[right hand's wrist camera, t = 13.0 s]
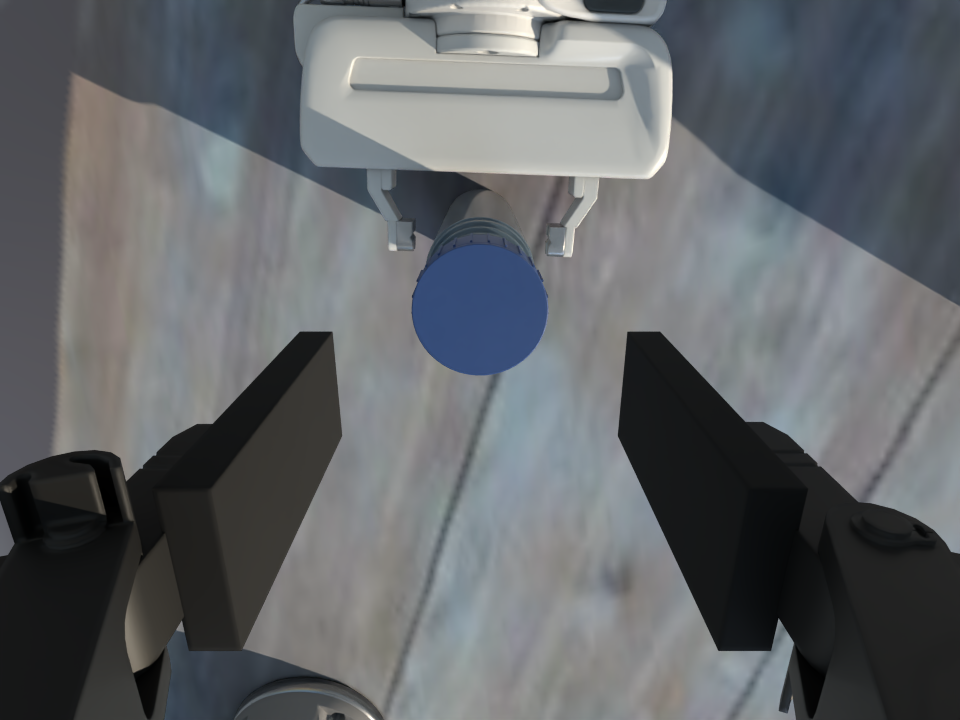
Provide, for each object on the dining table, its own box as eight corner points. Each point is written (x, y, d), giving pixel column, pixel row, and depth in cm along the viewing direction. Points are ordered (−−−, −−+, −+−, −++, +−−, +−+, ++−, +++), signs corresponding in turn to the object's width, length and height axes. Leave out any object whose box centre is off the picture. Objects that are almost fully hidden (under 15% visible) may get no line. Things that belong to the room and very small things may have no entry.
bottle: (448, 261, 42) (417, 377, 21) (442, 191, 40) (402, 243, 19) (516, 256, 42) (551, 369, 21) (513, 186, 40) (548, 234, 19)
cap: (422, 359, 23) (417, 381, 21) (410, 236, 21) (402, 246, 19) (544, 352, 23) (551, 373, 21) (541, 228, 21) (548, 237, 19)
